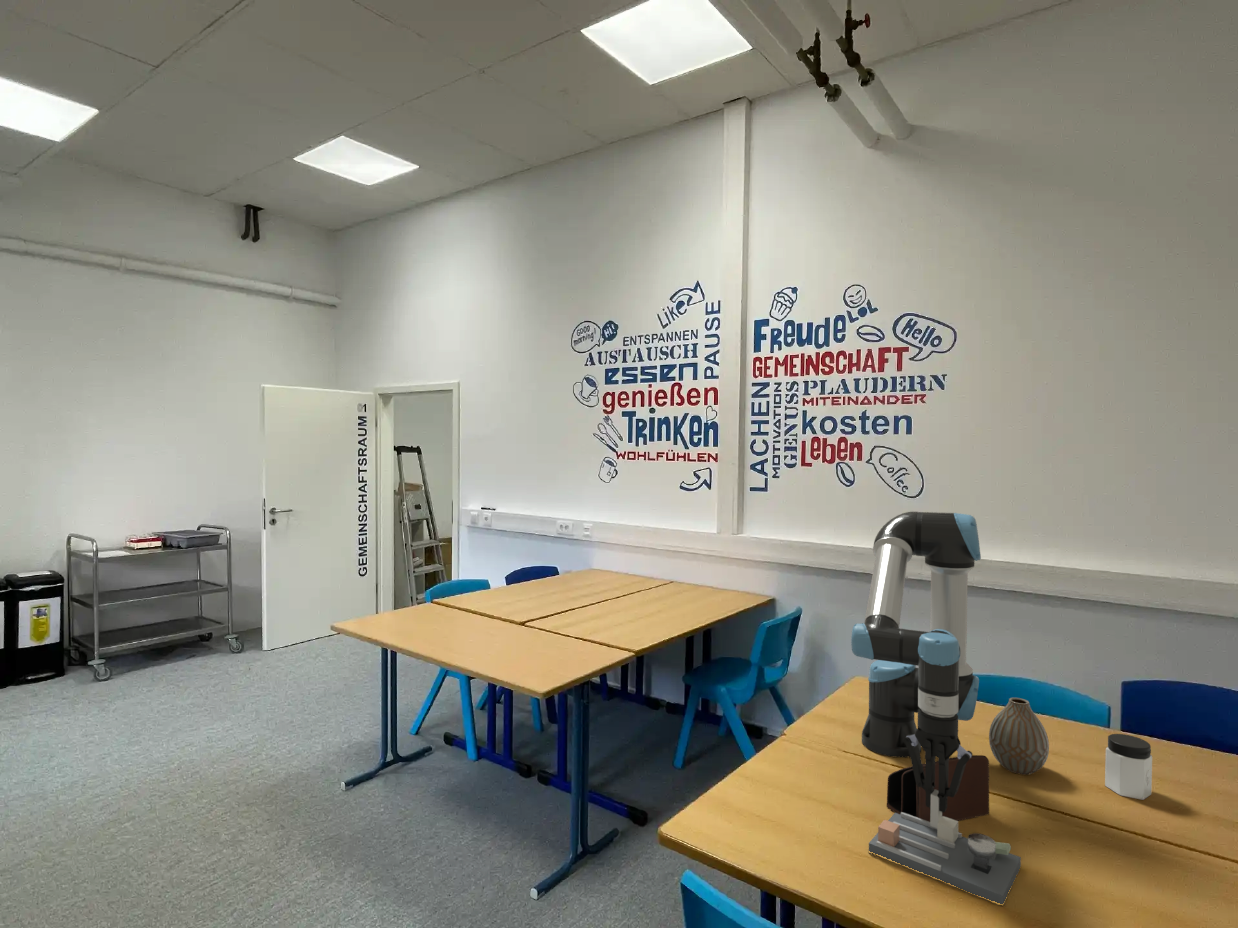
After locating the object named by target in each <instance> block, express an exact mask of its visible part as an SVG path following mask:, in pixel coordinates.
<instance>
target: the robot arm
mask: <svg viewBox="0 0 1238 928" xmlns="http://www.w3.org/2000/svg"><path fill="white" fill-rule="evenodd" d="M979 540H980V539H979V532H978V525H977V520H976V518H975V517H974V516H973V515H971V514H967V513H957V512H937V511H936V512H933V511H931V512H928V511H925V512H923V511H906V512H903V513H901V514H897V515H896V516H894V517H893V518H890V519H889V520H888V521H887V522H886V523H885V524H884V525H883V526H882V527H881V528H880V530H879V531H878V532H877V534H876V536H875V538H874V541H873V547H872V551H873V555H874V557H875V559H874V566H873V570H872V577H871V581H870V588H869V592H868V599H867V605H866V611H865V615H864V616H865V617H864V622H863V623H854V625H853V626H852V631H851V636H850V637H851V639H850V641H851V642H850V643H851V645H850V646H851V651H852V653H853V655H854V656H855V657H857V658H858V657H860V658H863V659H869V660H872V661H873V662H872V663H871V664H870V667H869V671H868V672H869V673H868V679H867V680H868V715H867V718H866V721H865V723H864V725H863V728H862V731H861V744H863V746H864V747H865V748H866V749H868V750H870V751H872V752H874V753H877V754H879V755H883V756H888V757H892V758H893V757H894V758H910V762H911V766H912V768H913V772H914V777H915V781H916V785H917V786H918V787H922V788H923V789H924V790H925V792H926V806H927V807H929V808H931V810H930V826H932V827H935V828H937V826H938V822H939V820H940V819H941V818H942V812H945V811H946V809H947V797H948V796H950V797H954V796H955V794H956V793H957V792H958V789H959V785H960V782H961V779H962V776H963V772H964V769H965V766H966V763H967V762H968V761H969V759H970V758H971V757H972V755H974V754H973V752H972V751H971V750H966V748H964V747H963V746H962V745H961V740H960V738H959V721H965V722H968V721H970V720H971V719H973V717H974V715H975V712H976V704H977V699H978V691H979V683H980V679H979V677H978V676H976V675H975V674H973V673H974V670H973V667H972V666H971V665H970V664H968V663H967V651H968V650H967V648H968V647H967V645H968V644H967V639H968V637H967V636H968V583H969V581H968V579H969V578H968V576H969V572H970V571H971V570H973V569H974V568H975V561H977V562H978V561H981V558H982V557H981V547H980V541H979ZM913 556H917V557H924V564H925V565H926V566H927V567H928V568H929V569H930V630H929V631H925V630H914V629H906V628H900V622H901V615H902V607H903V599H904V598H903V597H904V592H905V591H904V590H905V581H906V574H907V565H908V562H910V561H911V560H912V557H913ZM916 666H918V667H916ZM915 713H916V714H917V725H916V721H915ZM922 750H923V751H924V759H925V763H924V764H925V775H924V770H923V766H922V764H923V762H922V757H921V754H920V753H921V752H922ZM955 752H957V754H956V757H958V759H959V761H958V762H957V765H956V768H955V771H954V775H953V778H952V781H951V785H950V788H948V771H949V758H951V756H952V755H953V754H955ZM936 758H937V761H938V763H939V788H938V790H934V788H935V787H936V785H935V762H936Z"/></svg>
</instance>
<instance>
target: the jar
mask: <svg viewBox="0 0 1238 928" xmlns="http://www.w3.org/2000/svg"><path fill="white" fill-rule="evenodd" d="M1151 753H1152V749H1151V744H1150V743H1149V742H1148V741H1146V740H1144V739H1142V738H1139V737H1137V736H1133V735H1130V734H1124V733H1112V734H1108V736H1107V747H1106V748H1105V767H1104V768H1105V770H1104V771H1105V773H1104V785H1105V787H1107V788H1108V789H1110V790H1111V791H1113V792H1114V793H1116V794H1117V795H1118V796H1121V797H1126V798H1131V799H1136V800H1137V799H1138V800H1143V801H1144V800H1145V799H1147V798H1148V797H1149V796H1151V795H1152V784H1153V783H1152V780H1153V778H1152V777H1153V755H1152V754H1151Z"/></svg>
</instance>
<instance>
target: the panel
mask: <svg viewBox="0 0 1238 928" xmlns="http://www.w3.org/2000/svg"><path fill="white" fill-rule="evenodd" d="M887 821H890V822H893V823H896V824H898V825H900V833H899V842H898V843H897V844H896V845H895V847H892V846H890V845H887V844H885V843H882V842H879V841H878V832H877V833H876V834H875V835H874V836H873V838H871V840H870V841H869V842H868V852H869V851H870V852H873V853H875V854H878V855H881V856H883V857H886V858H887V859H891V860H892V861H895V862H897V863H900V864H901V865H905V866H908V867H909V868H912V869H914V870H917V871H919V872H923V873H924V874H927V875H930V876H932V877H935V878H937V879H940V880H942V881H944V882H946V883H950V884H951V885H954V886H956V887H958V888H960V889H963V890H965V891H967V892H970V893H972V894H975V895H978V896H981V897H984V898H986V899H989V900H991V901H995V902H997V903H1000V904H1003V903H1004V901H1005V899H1006V897H1007V894H1008V892H1009V890H1010V888H1011V886H1012V885H1013V886H1014V883H1015V881H1016V879H1015V878H1017V877H1016V875H1017V876H1018V874H1019V873H1020V870H1021V868H1020V867H1022V858H1021V856H1019V855H1016V854H1013V853H1011V852H1010V851H1011V849H1012V846H1011V844H1010V843H1007V842H1001V841H1000V842H999V841H995V843H996V849H995V857H994V858H992V859H989V865H988V867H987V869H985V868H982V867H979V866H977V865H974V864H973V863H974V855H973V854H972V853H970V852H969V850H968V837H965V836H963V833H961V832H959V831H958V838H957V839H956V841H955V842H954V843H952V842H949V841H947V840H944V839H941V838H938V837H937V828H935V827H932V826H930V822H929V821H926V820H923V819H920V818H917V817H914V816H912V815H909V814H906V813H903V812H901V815H900V814H898V813H894V812H893V814H892V815H891V817H889V819H888V820H887ZM1019 869H1020V870H1019ZM1014 880H1015V881H1014ZM1013 882H1014V883H1013ZM1013 886H1012V887H1013ZM960 889H959V890H960ZM1011 889H1012V888H1011ZM965 891H964V892H965ZM1010 891H1011V890H1010ZM967 892H966V893H967ZM970 893H969V894H970ZM1009 893H1010V892H1009ZM972 894H971V895H972ZM975 895H974V896H975ZM1008 895H1009V894H1008ZM1007 898H1008V897H1007ZM1006 900H1007V899H1006ZM1005 902H1006V901H1005ZM1004 904H1005V903H1004Z"/></svg>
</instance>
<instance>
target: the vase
mask: <svg viewBox="0 0 1238 928" xmlns="http://www.w3.org/2000/svg"><path fill="white" fill-rule="evenodd" d="M988 742H989V747H990V750H991V754H992V755H993V756H994V758H995V759H996V761H997V762H998V763H999V764H1000V765H1001V766H1002V768H1004V769H1005V770H1007V771H1009V772H1011V773H1014V774H1018V775H1022V776H1023V775H1025V776H1026V775H1027V776H1028V775H1032V774H1035V772H1038V771H1039V770H1041V768H1043V767H1044V765H1045V764H1046V762H1047V760H1048V757H1049V752H1050V742H1049V736H1048V733H1047V731H1046V729H1045V727H1044V725H1043V723H1042V721H1041V720H1040V719H1039V717H1038V716H1037V715H1036V713H1035V712H1034V711H1033V710H1032V707H1031V705H1030V702H1029V700H1027V699H1024V698H1020V697H1010V698H1008V703H1007V704H1006V705H1005V707H1003V708H1002V709H1001V710H1000V711H999V712H998V713H997V714H996V715H995V716H994V719H993V720H992V722H991V724H990V728H989V733H988Z"/></svg>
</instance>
